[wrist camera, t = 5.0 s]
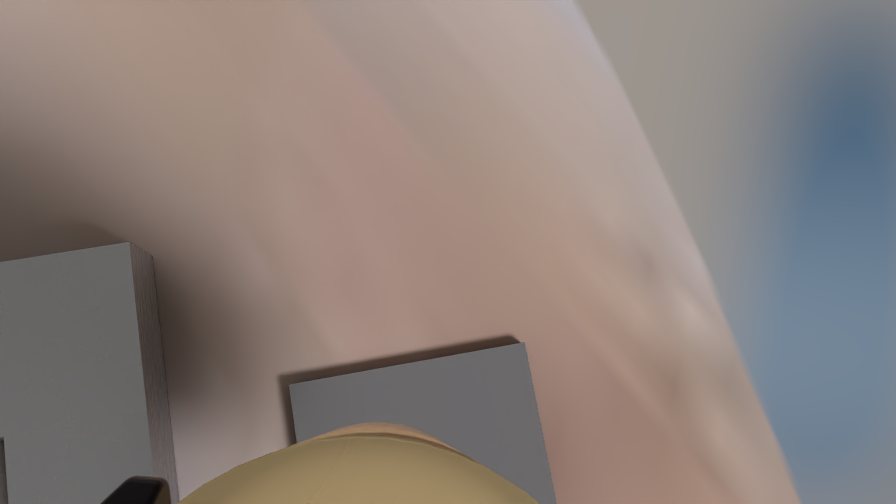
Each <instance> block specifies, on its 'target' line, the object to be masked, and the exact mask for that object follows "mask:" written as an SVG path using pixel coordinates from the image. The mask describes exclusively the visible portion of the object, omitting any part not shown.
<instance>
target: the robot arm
mask: <svg viewBox="0 0 896 504" xmlns="http://www.w3.org/2000/svg"><path fill="white" fill-rule="evenodd" d="M100 504H172V503H171V495H170V487H169V484H168V482H167V480H166V479H164V478H160V477H148V476H132V477H130V478H128V479H126V480H125V481H124V482H123V483H122V484H121V485H120V486H119V487H118V488H116V489H115V490H114V491H113V492H112V493H111V494H110V495H109V496H108V497H107V498H106V499H105V500H104V501H103V502H101V503H100Z"/></svg>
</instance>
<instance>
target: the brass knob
mask: <svg viewBox="0 0 896 504" xmlns="http://www.w3.org/2000/svg"><path fill="white" fill-rule="evenodd" d="M177 504H539V503H538V502H537V501H536V500H535V499H533V498H532V497H531V496H530V495H529V494H527V493H526V492H525V491H524V490H522V489H521V488H519V487H517V486H516V485H514V484H513V483H511V482H509V481H508V480H506V479H505V478H503V477H501V476H500V475H498V474H497V473H495V472H494V471H492V470H490V469H488V468H487V467H485V466H483V465H482V464H480V463H478V462H477V461H475V460H473V459H471V458H470V457H468V456H466V455H465V454H463V453H461V452H460V451H458V450H456V449H454V448H453V447H451V446H449V445H448V444H446V443H444V442H443V441H441V440H439V439H437V438H436V437H434V436H432V435H430V434H428V433H426V432H423V431H421V430H419V429H416V428H413V427H409V426H406V425H402V424H396V423H390V422H367V423H358V424H354V425H350V426H345V427H342V428H339V429H336V430H333V431H330V432H328V433H325V434H322V435H319V436H317V437H314V438H311V439H308V440H305V441H303V442H300V443H297V444H294V445H291V446H289V447H286V448H283V449H280V450H278V451H275V452H272V453H270V454H267V455H265V456H262V457H259V458H257V459H254V460H252V461H249V462H247V463H244V464H241V465H239V466H237V467H235V468H233V469H231V470H230V471H228V472H226V473H224V474H222V475H220V476H219V477H217V478H215V479H213V480H211V481H209V482H207V483H206V484H204V485H202V486H201V487H200V488H198V489H197V490H195V491H194V492H193V493H191V494H190V495H188V496H187V497H186V498H184V499H183V500H181V501H180V502H179V503H177Z"/></svg>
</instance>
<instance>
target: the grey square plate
mask: <svg viewBox="0 0 896 504" xmlns="http://www.w3.org/2000/svg"><path fill="white" fill-rule="evenodd" d="M289 390H290V398H291V405H292V412H293V419H294V426H295V433H296V440H297V443H300V442H303V441H305V440H308V439H311V438H314V437H317V436H319V435H322V434H325V433H328V432H330V431H333V430H336V429H339V428H342V427H345V426H350V425H354V424H358V423H367V422H390V423H396V424H402V425H406V426H409V427H413V428H416V429H419V430H421V431H423V432H426V433H428V434H430V435H432V436H434V437H436V438H437V439H439V440H441V441H443V442H444V443H446V444H448V445H449V446H451V447H453V448H454V449H456V450H458V451H460V452H461V453H463V454H465V455H466V456H468V457H470V458H471V459H473V460H475V461H477V462H478V463H480V464H482V465H483V466H485V467H487V468H488V469H490V470H492V471H494V472H495V473H497V474H498V475H500V476H501V477H503V478H505V479H506V480H508V481H509V482H511V483H513V484H514V485H516V486H517V487H519V488H521V489H522V490H524V491H525V492H526V493H527V494H529V495H530V496H531V497H532V498H533V499H535V500H536V501H537V502H538V503H539V504H557V503H556V498H555V493H554V488H553V483H552V478H551V473H550V468H549V463H548V458H547V453H546V448H545V443H544V438H543V433H542V428H541V423H540V418H539V413H538V408H537V403H536V398H535V393H534V388H533V383H532V378H531V373H530V368H529V363H528V358H527V353H526V348H525V343H524V342H523V343H517V344H512V345H506V346H501V347H495V348H489V349H484V350H478V351H473V352H467V353H462V354H456V355H450V356H445V357H439V358H434V359H428V360H423V361H417V362H412V363H406V364H400V365H395V366H389V367H384V368H378V369H373V370H367V371H361V372H356V373H350V374H345V375H339V376H334V377H328V378H322V379H317V380H311V381H306V382H300V383H295V384H289Z"/></svg>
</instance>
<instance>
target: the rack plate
mask: <svg viewBox="0 0 896 504" xmlns="http://www.w3.org/2000/svg"><path fill="white" fill-rule="evenodd" d="M1 440H4V449H5V463H6V478H7V492H8V504H100V503H101V502H103V501H104V500H105V499H106V498H107V497H108V496H109V495H110V494H111V493H112V492H113V491H114V490H115V489H116V488H118V487H119V486H120V485H121V484H122V483H123V482H124V481H125V480H126V479H128V478H130V477H132V476H148V477H160V478H164V479H166V480H167V482H168V484H169V487H170V495H171V503H172V504H177V503H179V494H178V485H177V476H176V467H175V458H174V449H173V439H172V430H171V421H170V412H169V403H168V394H167V385H166V376H165V367H164V358H163V349H162V340H161V331H160V322H159V313H158V304H157V295H156V285H155V276H154V267H153V258H152V255H150V254H148V253H147V252H145V251H143V250H142V249H140V248H139V247H137V246H135V245H134V244H132V243H130V242H125V243H118V244H112V245H105V246H99V247H93V248H86V249H80V250H73V251H67V252H61V253H54V254H48V255H41V256H35V257H29V258H22V259H16V260H9V261H3V262H0V441H1Z"/></svg>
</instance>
